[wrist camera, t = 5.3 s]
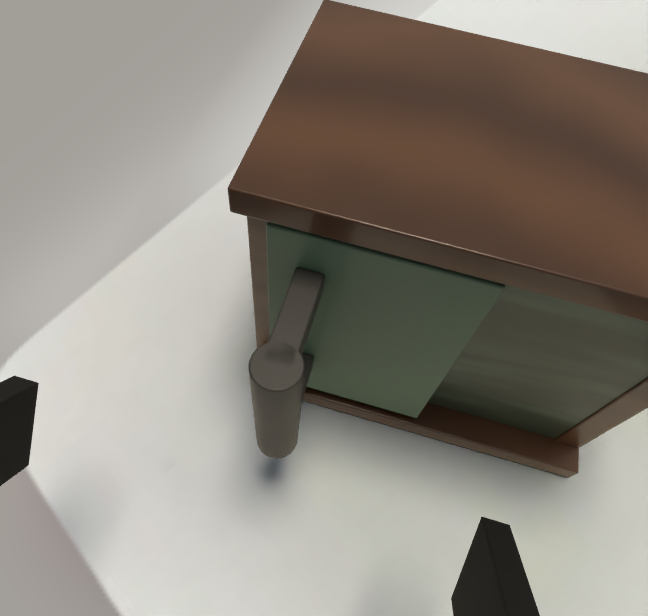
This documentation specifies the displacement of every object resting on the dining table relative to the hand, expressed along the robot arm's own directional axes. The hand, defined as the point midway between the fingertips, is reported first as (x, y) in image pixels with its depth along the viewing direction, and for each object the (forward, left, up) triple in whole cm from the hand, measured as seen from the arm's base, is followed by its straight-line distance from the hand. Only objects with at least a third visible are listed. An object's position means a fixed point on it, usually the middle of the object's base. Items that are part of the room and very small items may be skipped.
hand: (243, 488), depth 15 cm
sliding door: (-4, +3, -8) cm, 9 cm away
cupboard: (-10, +7, -9) cm, 16 cm away
